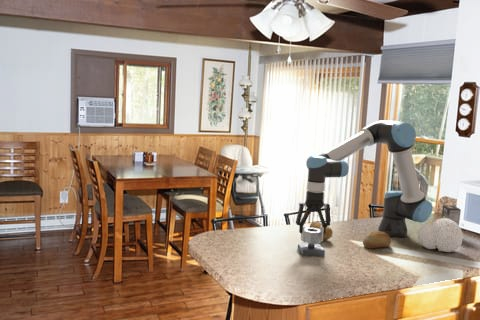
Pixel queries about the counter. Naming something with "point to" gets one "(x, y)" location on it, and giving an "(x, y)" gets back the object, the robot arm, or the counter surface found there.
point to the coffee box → (451, 213)
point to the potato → (327, 233)
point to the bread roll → (376, 239)
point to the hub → (312, 235)
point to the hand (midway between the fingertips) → (311, 240)
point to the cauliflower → (441, 235)
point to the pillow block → (311, 250)
